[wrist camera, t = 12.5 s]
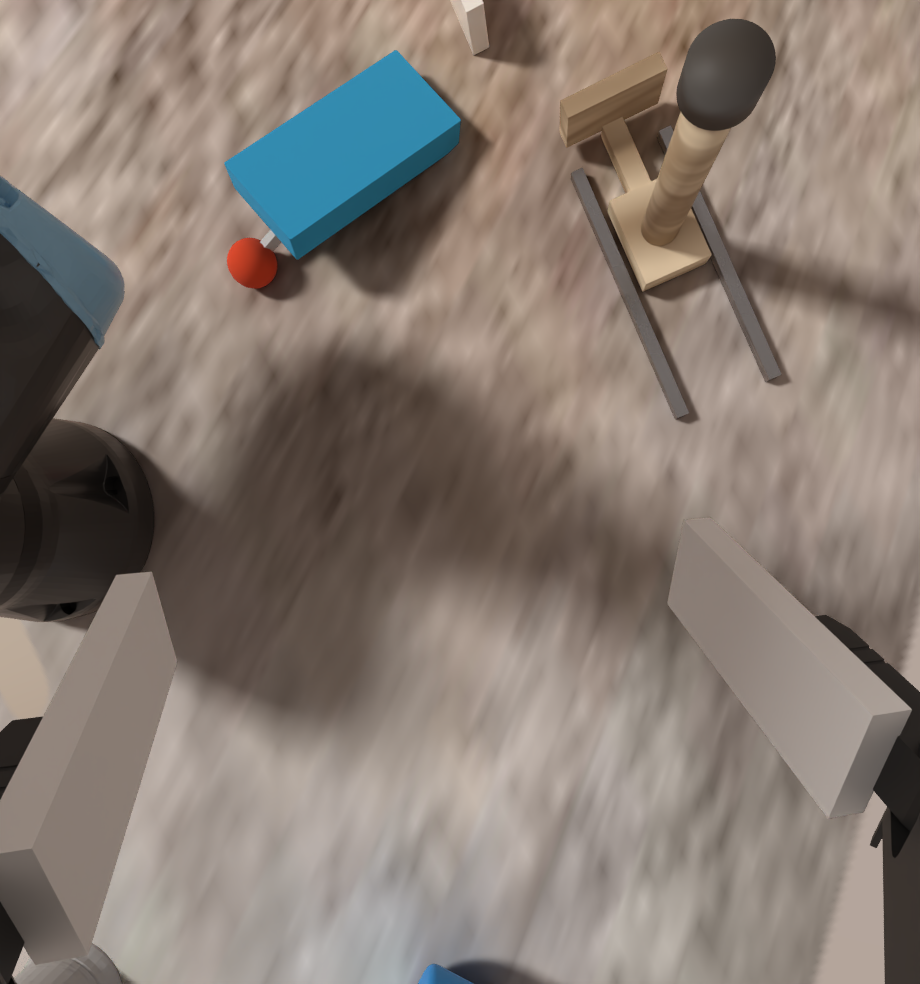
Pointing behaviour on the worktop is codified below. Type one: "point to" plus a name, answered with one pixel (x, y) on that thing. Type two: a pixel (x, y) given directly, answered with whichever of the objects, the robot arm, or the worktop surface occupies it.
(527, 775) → the worktop surface
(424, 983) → the alarm clock
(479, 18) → the pocket
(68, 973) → the glass holder
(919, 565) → the worktop surface
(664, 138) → the track
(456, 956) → the worktop surface
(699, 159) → the plunger
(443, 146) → the blue long block
